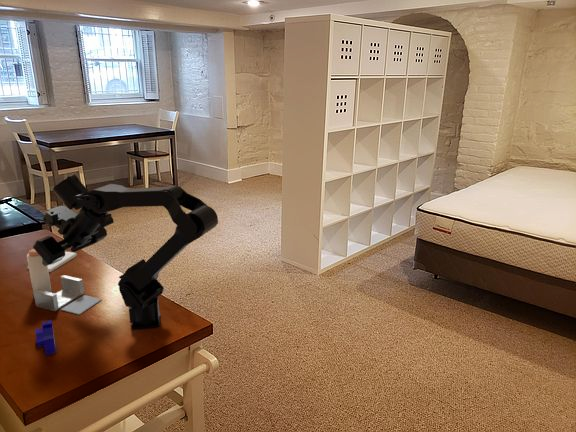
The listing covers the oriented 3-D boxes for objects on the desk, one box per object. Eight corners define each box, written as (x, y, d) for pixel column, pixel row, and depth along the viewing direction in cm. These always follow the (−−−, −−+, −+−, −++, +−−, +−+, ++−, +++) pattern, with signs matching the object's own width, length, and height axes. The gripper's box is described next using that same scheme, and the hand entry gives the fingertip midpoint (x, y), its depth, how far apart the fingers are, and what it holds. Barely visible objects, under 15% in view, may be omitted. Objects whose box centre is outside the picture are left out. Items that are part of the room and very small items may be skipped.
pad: (101, 300, 117) (101, 299, 117) (79, 314, 110) (79, 313, 110) (84, 295, 119) (84, 294, 119) (61, 310, 112) (60, 309, 112)
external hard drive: (77, 257, 143) (50, 273, 132) (55, 254, 145) (27, 270, 133) (76, 252, 143) (49, 268, 131) (54, 249, 144) (26, 265, 133)
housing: (84, 293, 120) (82, 279, 119) (55, 311, 111) (52, 296, 110) (66, 289, 122) (63, 275, 121) (36, 306, 113) (33, 291, 112)
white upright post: (54, 290, 121) (46, 247, 117) (49, 298, 117) (41, 253, 113) (37, 292, 120) (29, 247, 116) (31, 300, 116) (23, 254, 112)
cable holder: (37, 338, 101) (34, 324, 99) (53, 334, 102) (51, 320, 101) (38, 357, 94) (35, 342, 93) (56, 353, 96) (53, 338, 95)
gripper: (92, 188, 113) (66, 223, 120) (31, 208, 97) (5, 247, 104) (120, 220, 113) (92, 252, 120) (64, 245, 97) (36, 282, 104)
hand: (58, 257), depth 112 cm, fingers open, 9 cm apart
